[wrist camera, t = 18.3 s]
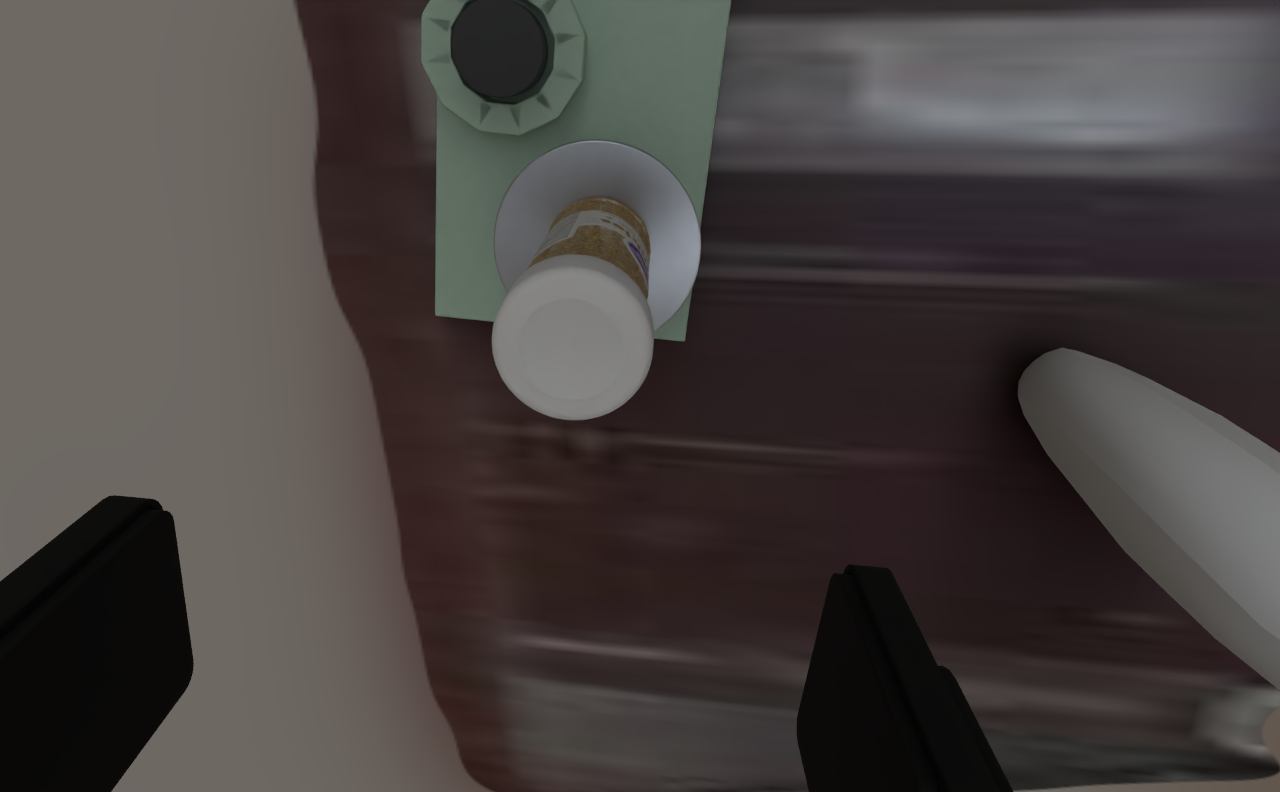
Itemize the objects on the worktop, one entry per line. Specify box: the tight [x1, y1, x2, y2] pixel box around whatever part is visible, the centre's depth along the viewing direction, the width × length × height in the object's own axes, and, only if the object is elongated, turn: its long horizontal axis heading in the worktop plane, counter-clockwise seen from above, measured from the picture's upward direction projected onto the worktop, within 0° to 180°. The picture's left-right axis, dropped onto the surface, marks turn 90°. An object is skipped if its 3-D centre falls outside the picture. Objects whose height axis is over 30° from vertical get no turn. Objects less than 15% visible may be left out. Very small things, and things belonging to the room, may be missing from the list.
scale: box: [421, 0, 731, 341], centre depth 35 cm, size 16×12×3 cm
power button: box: [451, 0, 548, 98], centre depth 31 cm, size 4×4×2 cm
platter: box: [494, 139, 702, 331], centre depth 34 cm, size 9×9×1 cm
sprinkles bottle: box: [492, 197, 654, 420], centre depth 28 cm, size 5×4×14 cm
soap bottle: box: [1018, 348, 1280, 690], centre depth 29 cm, size 14×8×27 cm, turn 47°
